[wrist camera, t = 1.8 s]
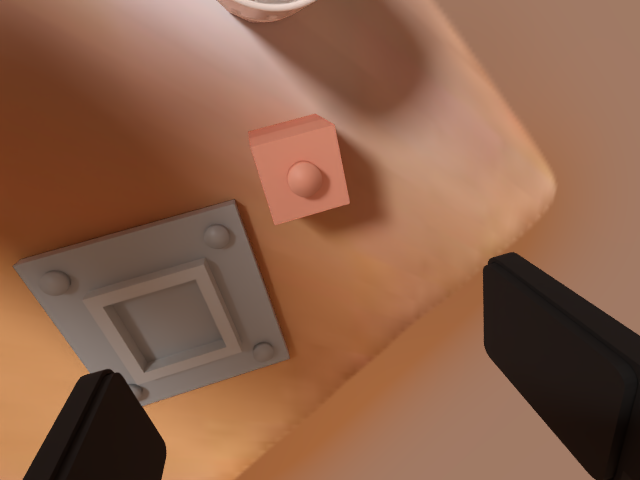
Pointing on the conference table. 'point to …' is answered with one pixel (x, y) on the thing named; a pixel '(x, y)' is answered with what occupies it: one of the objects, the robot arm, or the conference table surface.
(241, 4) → the white cup
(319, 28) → the conference table surface
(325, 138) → the pink knobbed block
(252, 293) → the baseplate
